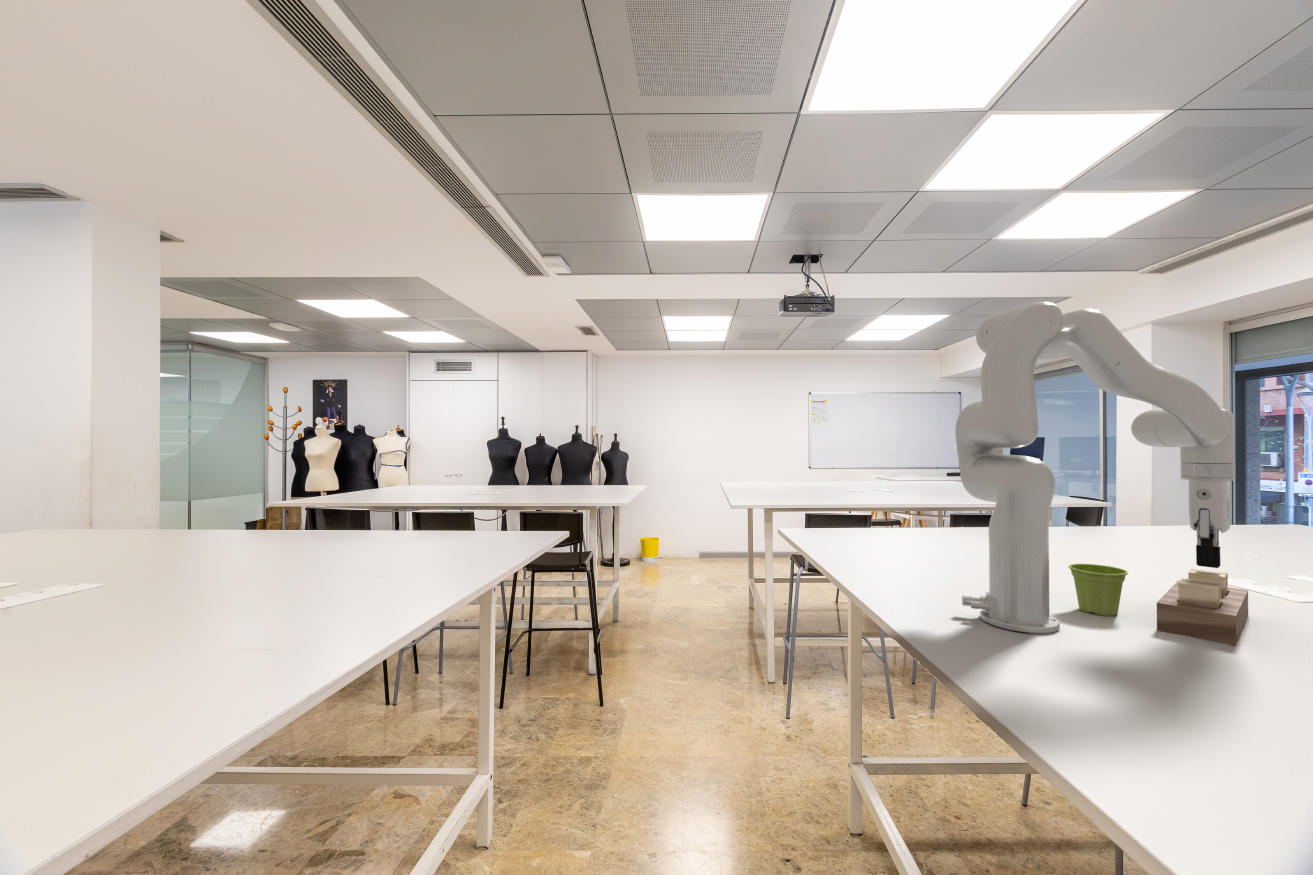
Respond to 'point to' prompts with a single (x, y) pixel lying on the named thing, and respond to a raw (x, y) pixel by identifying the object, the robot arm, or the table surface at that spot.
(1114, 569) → the plant pot
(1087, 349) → the robot arm
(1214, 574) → the peg far
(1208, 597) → the peg near
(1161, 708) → the table surface
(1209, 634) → the peg board
